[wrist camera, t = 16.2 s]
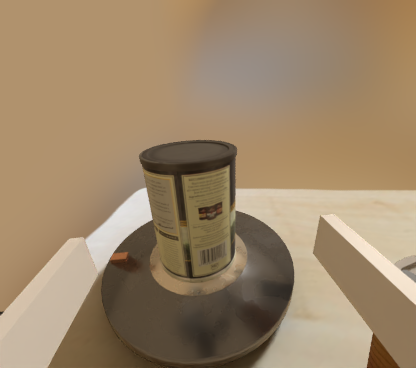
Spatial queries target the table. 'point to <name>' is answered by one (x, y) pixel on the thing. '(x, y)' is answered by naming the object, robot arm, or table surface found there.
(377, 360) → the disposable coffee cup
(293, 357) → the table surface
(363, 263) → the robot arm
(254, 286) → the turntable platter
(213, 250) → the coffee can
